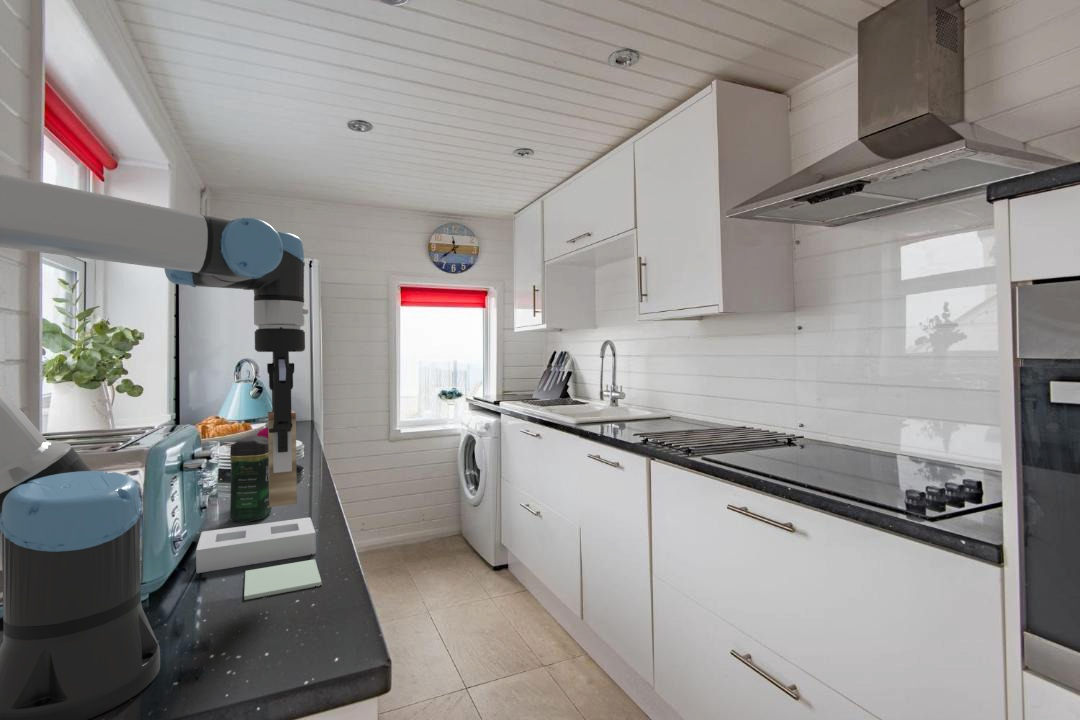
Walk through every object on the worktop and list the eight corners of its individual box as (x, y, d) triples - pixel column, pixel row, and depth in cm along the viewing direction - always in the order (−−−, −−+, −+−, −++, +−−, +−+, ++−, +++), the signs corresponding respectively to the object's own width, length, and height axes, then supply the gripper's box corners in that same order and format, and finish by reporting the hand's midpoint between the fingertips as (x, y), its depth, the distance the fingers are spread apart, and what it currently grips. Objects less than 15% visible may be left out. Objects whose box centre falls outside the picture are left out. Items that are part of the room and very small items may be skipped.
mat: (321, 585, 88) (321, 581, 88) (244, 600, 83) (244, 596, 83) (314, 562, 97) (314, 559, 97) (245, 574, 92) (245, 570, 92)
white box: (315, 553, 102) (315, 532, 102) (196, 573, 93) (196, 550, 93) (310, 536, 111) (310, 517, 111) (202, 552, 103) (201, 531, 103)
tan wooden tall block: (296, 503, 89) (295, 412, 89) (269, 507, 87) (268, 414, 87) (295, 497, 93) (294, 410, 93) (269, 501, 91) (268, 411, 91)
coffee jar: (264, 522, 122) (263, 439, 121) (225, 524, 120) (224, 440, 120) (276, 509, 131) (275, 433, 131) (240, 512, 129) (239, 434, 129)
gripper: (309, 326, 84) (311, 476, 84) (301, 330, 99) (302, 458, 99) (254, 325, 80) (256, 482, 81) (254, 330, 95) (256, 462, 96)
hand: (282, 468), depth 90 cm, fingers closed on tan wooden tall block, 4 cm apart
